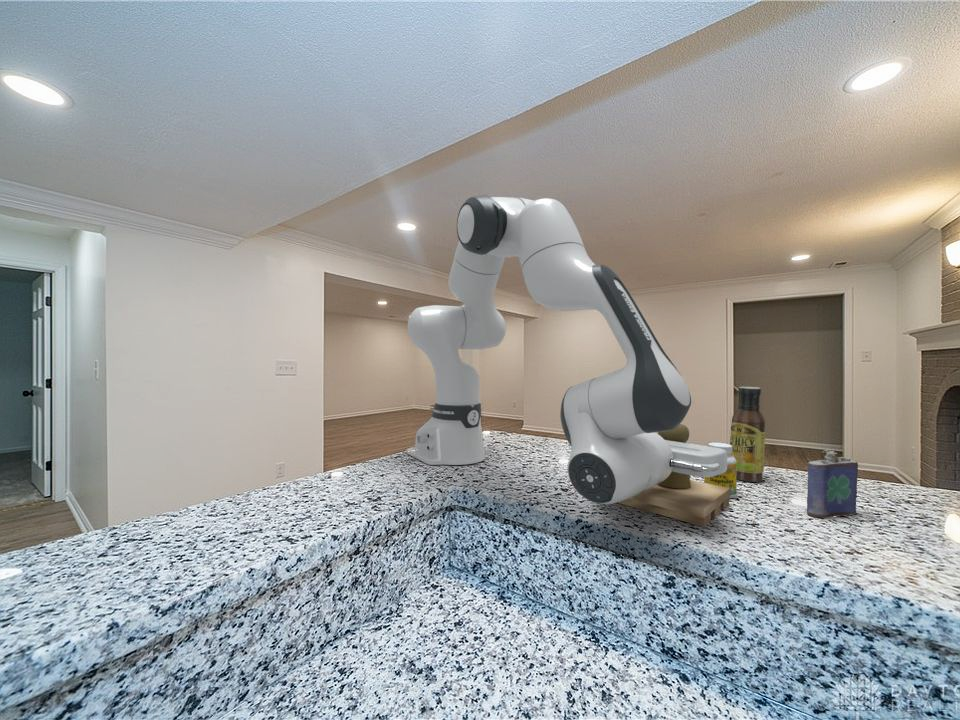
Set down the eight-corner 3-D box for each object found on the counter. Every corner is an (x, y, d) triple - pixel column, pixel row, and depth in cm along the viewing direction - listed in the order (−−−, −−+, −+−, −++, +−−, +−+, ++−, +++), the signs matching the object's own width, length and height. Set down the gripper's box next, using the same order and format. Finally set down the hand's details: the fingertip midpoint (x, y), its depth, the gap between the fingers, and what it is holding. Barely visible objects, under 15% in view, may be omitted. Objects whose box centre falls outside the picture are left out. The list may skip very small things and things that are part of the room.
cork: (697, 488, 72) (698, 426, 72) (662, 487, 72) (664, 425, 72) (681, 478, 78) (682, 421, 78) (649, 478, 78) (650, 420, 78)
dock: (608, 501, 75) (608, 484, 75) (642, 484, 84) (642, 469, 84) (703, 528, 63) (703, 508, 63) (729, 504, 73) (730, 488, 73)
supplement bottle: (732, 491, 80) (733, 442, 80) (739, 500, 75) (740, 448, 75) (701, 488, 82) (702, 440, 82) (706, 497, 77) (706, 446, 77)
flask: (817, 519, 67) (818, 453, 67) (799, 512, 70) (800, 449, 69) (861, 515, 69) (862, 451, 68) (842, 508, 71) (843, 447, 71)
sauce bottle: (722, 476, 90) (723, 386, 89) (740, 473, 92) (741, 385, 92) (752, 485, 84) (754, 388, 84) (771, 481, 87) (772, 387, 86)
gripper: (713, 449, 58) (739, 436, 68) (587, 430, 73) (623, 421, 83) (712, 493, 58) (739, 474, 68) (586, 465, 73) (623, 452, 83)
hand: (675, 445), depth 76 cm, fingers closed on cork, 4 cm apart
